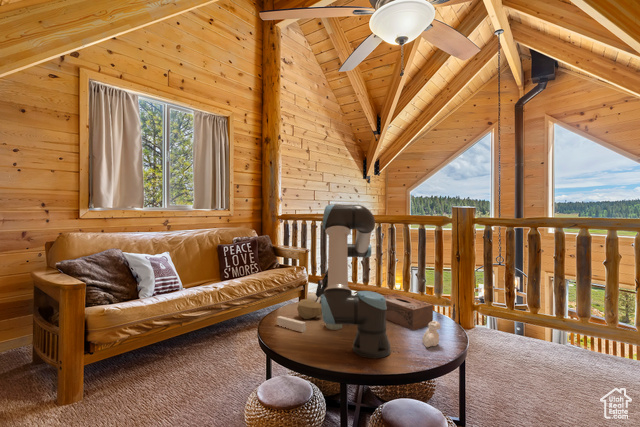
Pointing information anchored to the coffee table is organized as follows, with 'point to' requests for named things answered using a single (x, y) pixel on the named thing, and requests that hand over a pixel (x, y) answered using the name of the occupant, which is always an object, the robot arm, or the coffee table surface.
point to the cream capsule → (312, 296)
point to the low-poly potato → (309, 309)
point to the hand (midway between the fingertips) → (316, 308)
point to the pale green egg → (333, 326)
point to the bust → (431, 334)
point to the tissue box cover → (408, 311)
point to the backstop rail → (291, 324)
